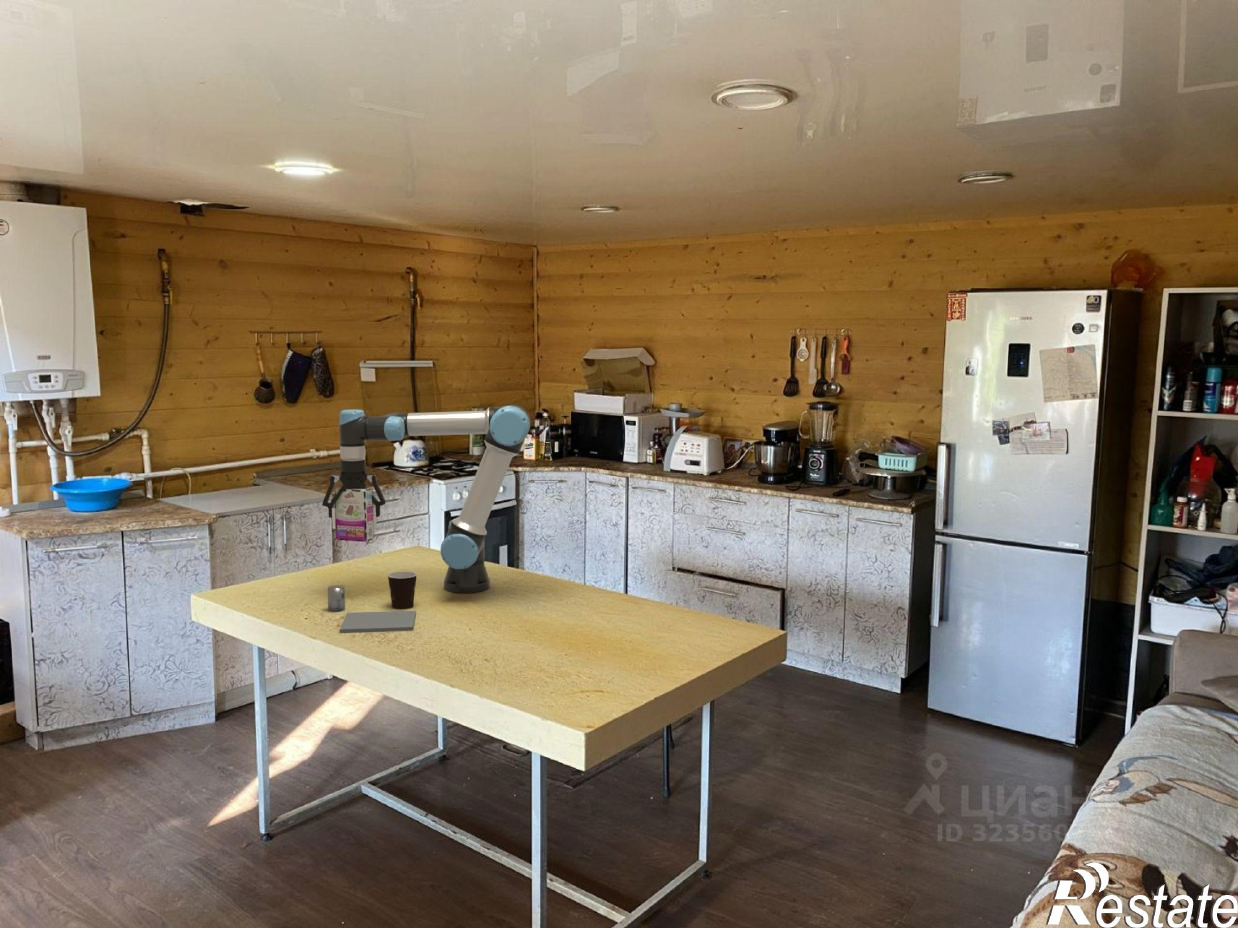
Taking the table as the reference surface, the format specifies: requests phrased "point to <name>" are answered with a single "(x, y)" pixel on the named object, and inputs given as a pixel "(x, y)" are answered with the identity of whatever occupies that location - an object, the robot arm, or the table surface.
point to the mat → (378, 621)
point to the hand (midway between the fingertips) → (355, 527)
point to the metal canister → (336, 598)
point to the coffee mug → (402, 589)
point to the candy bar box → (354, 515)
